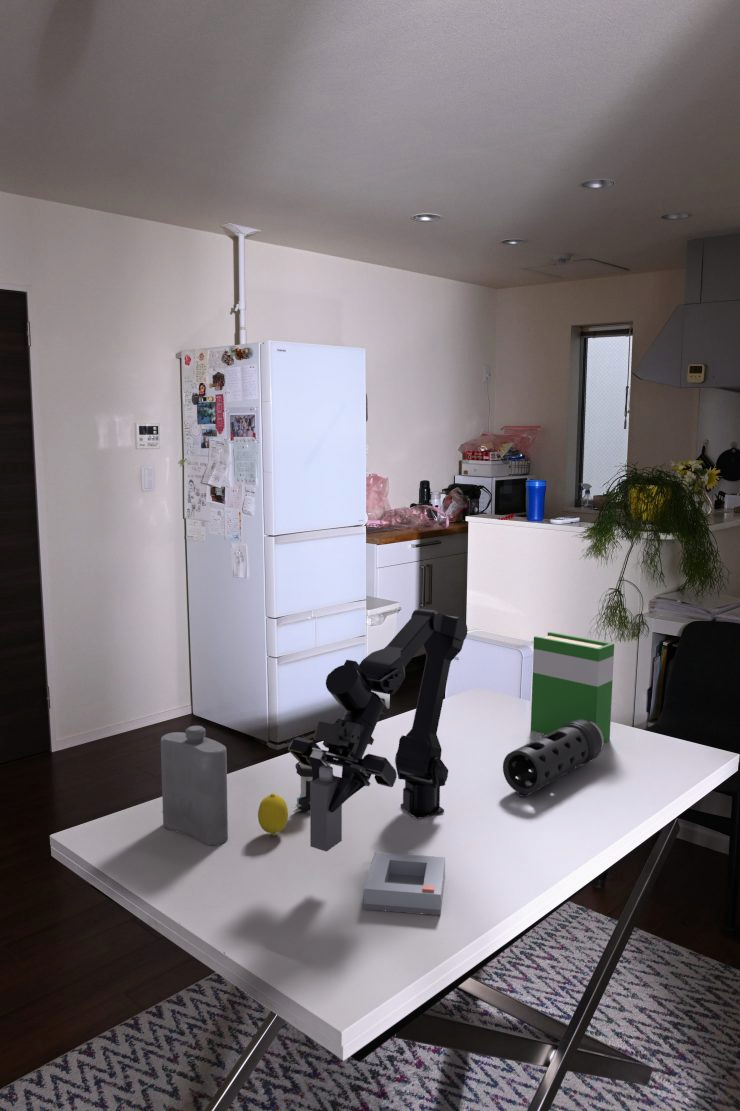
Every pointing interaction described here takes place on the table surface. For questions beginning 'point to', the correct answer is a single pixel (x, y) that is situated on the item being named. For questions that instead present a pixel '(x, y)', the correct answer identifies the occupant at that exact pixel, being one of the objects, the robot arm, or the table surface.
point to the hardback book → (571, 682)
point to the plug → (324, 811)
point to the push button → (304, 788)
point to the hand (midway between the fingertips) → (321, 808)
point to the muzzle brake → (552, 756)
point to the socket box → (405, 883)
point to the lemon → (273, 814)
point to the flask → (195, 785)
